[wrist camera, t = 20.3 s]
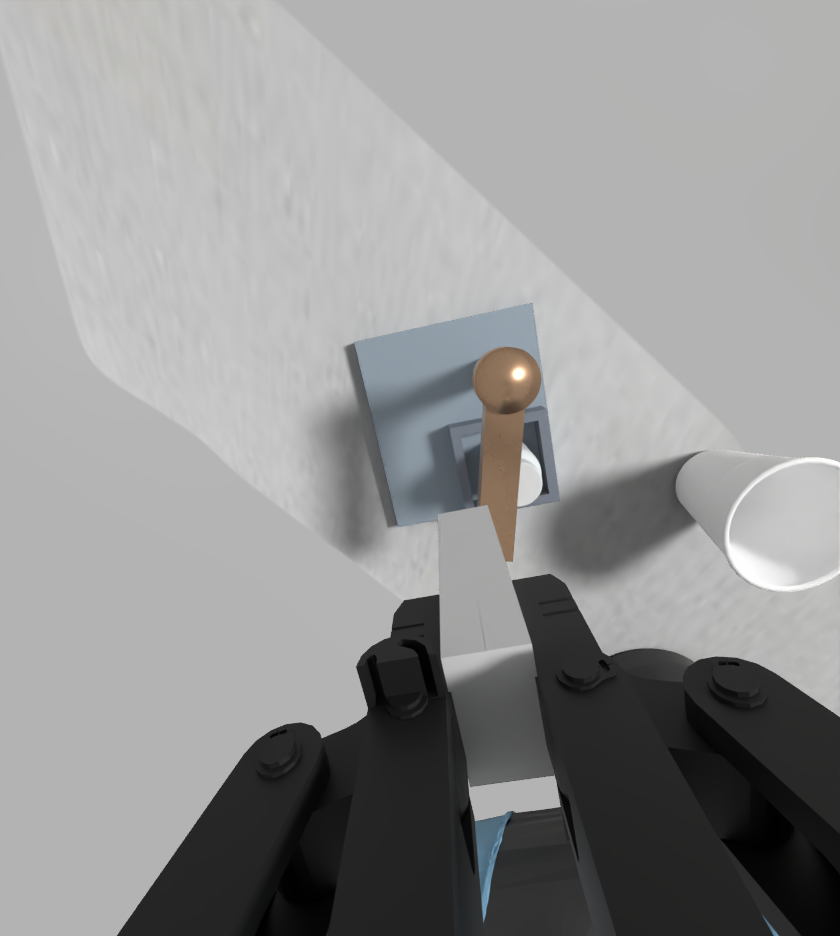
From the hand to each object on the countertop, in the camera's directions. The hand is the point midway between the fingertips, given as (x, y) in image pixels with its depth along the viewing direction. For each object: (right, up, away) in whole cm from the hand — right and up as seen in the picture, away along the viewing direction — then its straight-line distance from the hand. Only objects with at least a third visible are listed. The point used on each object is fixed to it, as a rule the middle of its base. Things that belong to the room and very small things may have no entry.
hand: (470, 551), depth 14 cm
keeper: (+4, +4, +18) cm, 18 cm away
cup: (+25, +1, +29) cm, 38 cm away
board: (+2, +7, +28) cm, 28 cm away
